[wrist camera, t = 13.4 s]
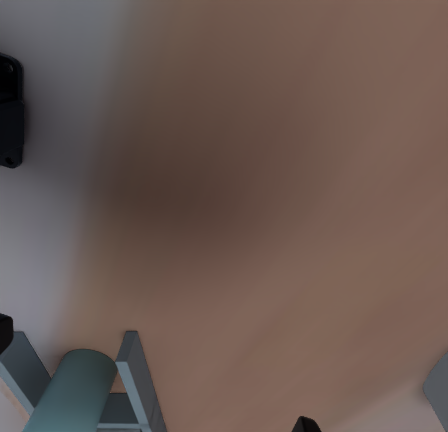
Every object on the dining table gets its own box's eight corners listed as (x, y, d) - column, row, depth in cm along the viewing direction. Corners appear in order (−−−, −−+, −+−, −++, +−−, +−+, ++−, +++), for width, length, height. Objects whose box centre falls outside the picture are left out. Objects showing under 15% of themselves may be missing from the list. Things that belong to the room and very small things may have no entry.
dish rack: (12, 332, 27) (-11, 361, 25) (137, 331, 27) (126, 361, 24) (78, 437, 38) (67, 465, 35) (168, 438, 37) (164, 467, 35)
